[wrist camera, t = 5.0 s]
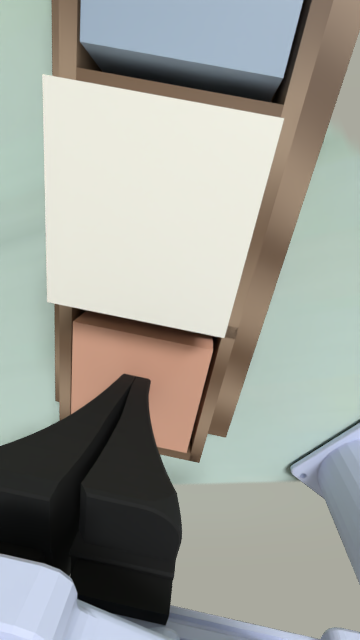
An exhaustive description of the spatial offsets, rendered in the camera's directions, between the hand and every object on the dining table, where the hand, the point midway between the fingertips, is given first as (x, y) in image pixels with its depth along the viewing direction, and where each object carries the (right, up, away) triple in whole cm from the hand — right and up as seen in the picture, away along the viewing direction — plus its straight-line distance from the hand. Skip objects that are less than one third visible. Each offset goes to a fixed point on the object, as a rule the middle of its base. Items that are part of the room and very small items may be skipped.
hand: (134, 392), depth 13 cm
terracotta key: (0, +1, +3) cm, 3 cm away
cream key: (+2, +8, -2) cm, 8 cm away
